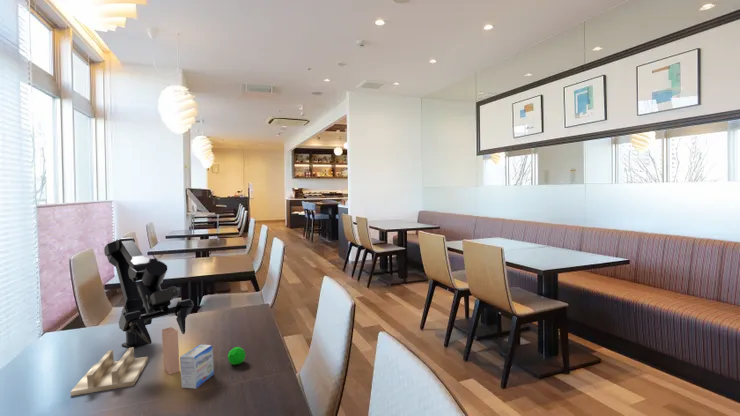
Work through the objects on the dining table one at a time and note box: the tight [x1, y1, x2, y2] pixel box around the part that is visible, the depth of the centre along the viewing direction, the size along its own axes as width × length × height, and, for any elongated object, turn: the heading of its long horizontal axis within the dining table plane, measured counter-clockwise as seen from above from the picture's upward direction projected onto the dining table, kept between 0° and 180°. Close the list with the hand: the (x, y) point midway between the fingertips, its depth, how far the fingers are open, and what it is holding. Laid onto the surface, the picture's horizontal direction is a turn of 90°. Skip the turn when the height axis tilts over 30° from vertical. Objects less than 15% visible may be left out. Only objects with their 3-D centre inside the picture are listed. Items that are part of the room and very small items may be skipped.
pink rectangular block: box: [161, 326, 181, 375], centre depth 107 cm, size 4×3×12 cm, turn 49°
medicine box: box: [179, 344, 215, 390], centre depth 100 cm, size 8×4×9 cm, turn 168°
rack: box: [70, 347, 149, 397], centre depth 104 cm, size 16×14×5 cm
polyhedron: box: [227, 346, 246, 366], centre depth 110 cm, size 5×5×5 cm
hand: (167, 338), depth 108 cm, fingers open, 9 cm apart
